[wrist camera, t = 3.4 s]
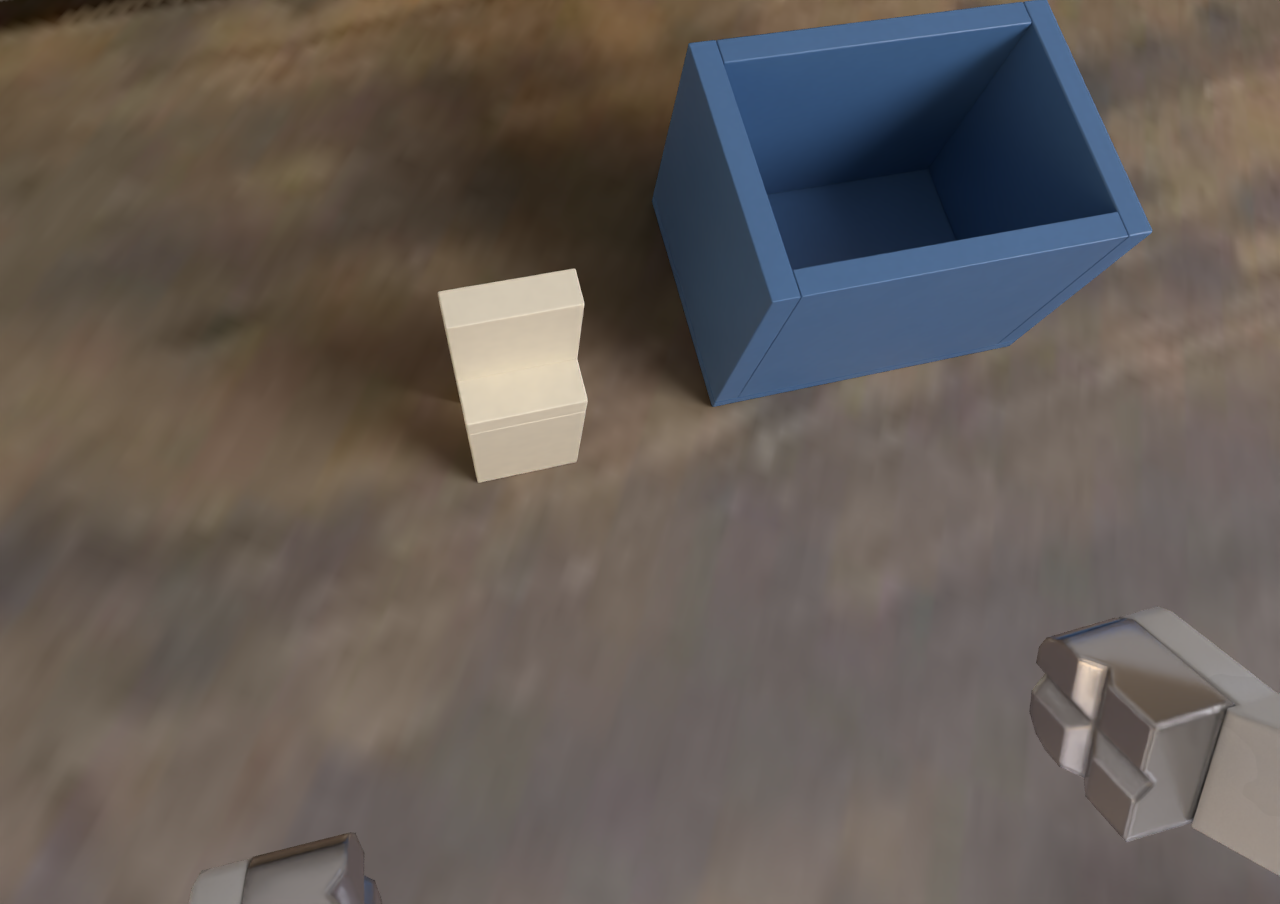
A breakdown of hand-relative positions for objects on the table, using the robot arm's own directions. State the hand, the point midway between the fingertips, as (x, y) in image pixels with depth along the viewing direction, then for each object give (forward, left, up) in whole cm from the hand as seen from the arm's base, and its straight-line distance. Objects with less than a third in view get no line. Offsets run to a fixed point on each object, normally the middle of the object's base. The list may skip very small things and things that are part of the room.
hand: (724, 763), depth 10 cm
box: (+8, +21, -23) cm, 32 cm away
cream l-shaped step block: (-4, +12, -23) cm, 27 cm away
